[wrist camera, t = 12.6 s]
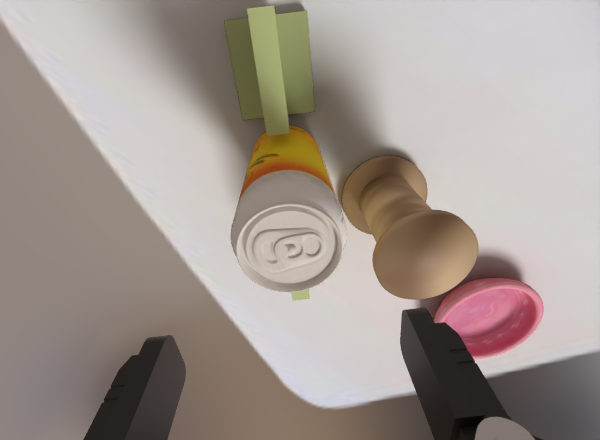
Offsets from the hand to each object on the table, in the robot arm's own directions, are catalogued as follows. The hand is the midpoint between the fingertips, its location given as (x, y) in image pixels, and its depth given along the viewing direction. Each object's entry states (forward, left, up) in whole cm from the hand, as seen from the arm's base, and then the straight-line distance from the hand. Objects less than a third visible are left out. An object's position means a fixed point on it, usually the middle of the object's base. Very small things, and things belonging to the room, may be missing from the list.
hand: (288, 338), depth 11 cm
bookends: (0, 0, -20) cm, 20 cm away
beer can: (0, 0, -20) cm, 20 cm away
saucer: (-21, +22, -21) cm, 37 cm away
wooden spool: (-9, +5, -20) cm, 23 cm away
